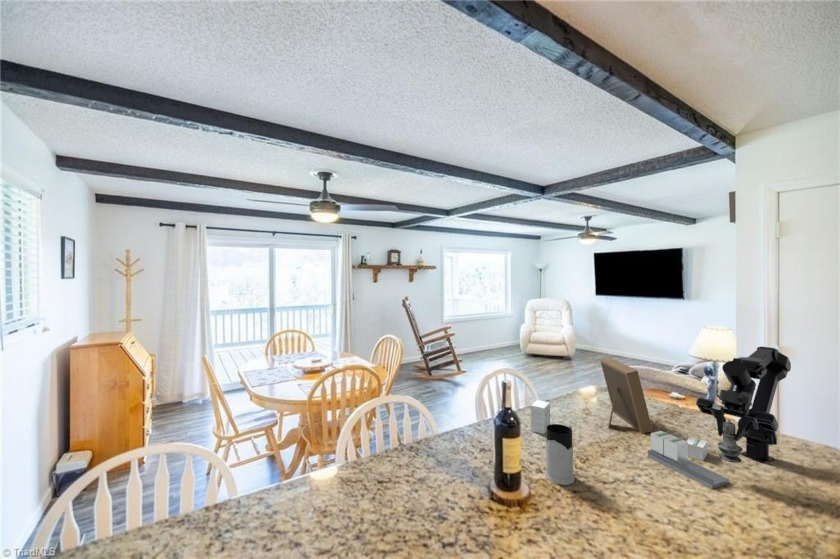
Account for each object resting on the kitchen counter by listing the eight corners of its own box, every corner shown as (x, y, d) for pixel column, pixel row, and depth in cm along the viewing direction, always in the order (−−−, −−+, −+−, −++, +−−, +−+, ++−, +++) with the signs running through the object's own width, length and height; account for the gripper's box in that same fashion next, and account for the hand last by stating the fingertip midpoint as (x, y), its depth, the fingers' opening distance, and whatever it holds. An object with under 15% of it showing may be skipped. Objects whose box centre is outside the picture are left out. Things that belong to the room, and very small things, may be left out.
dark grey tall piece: (746, 464, 107) (745, 424, 107) (721, 461, 110) (720, 421, 109) (738, 455, 113) (737, 416, 112) (714, 452, 115) (713, 414, 115)
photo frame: (622, 412, 165) (622, 357, 165) (652, 433, 144) (651, 370, 143) (589, 412, 165) (588, 358, 165) (614, 434, 144) (613, 371, 143)
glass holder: (539, 477, 114) (539, 429, 114) (558, 459, 124) (558, 416, 124) (568, 488, 108) (567, 437, 108) (585, 469, 118) (584, 423, 118)
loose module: (689, 449, 131) (689, 435, 131) (707, 454, 127) (707, 440, 127) (685, 455, 126) (685, 442, 126) (703, 461, 123) (703, 447, 123)
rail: (664, 452, 128) (664, 428, 128) (729, 482, 110) (729, 454, 109) (647, 457, 125) (647, 432, 125) (712, 488, 107) (712, 460, 107)
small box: (537, 424, 153) (536, 399, 153) (550, 427, 150) (550, 402, 150) (530, 431, 147) (530, 405, 147) (544, 434, 144) (544, 408, 143)
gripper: (697, 373, 120) (683, 414, 115) (774, 387, 105) (762, 436, 99) (708, 391, 125) (694, 432, 119) (783, 407, 109) (771, 455, 104)
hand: (727, 438), depth 110 cm, fingers closed on dark grey tall piece, 4 cm apart
